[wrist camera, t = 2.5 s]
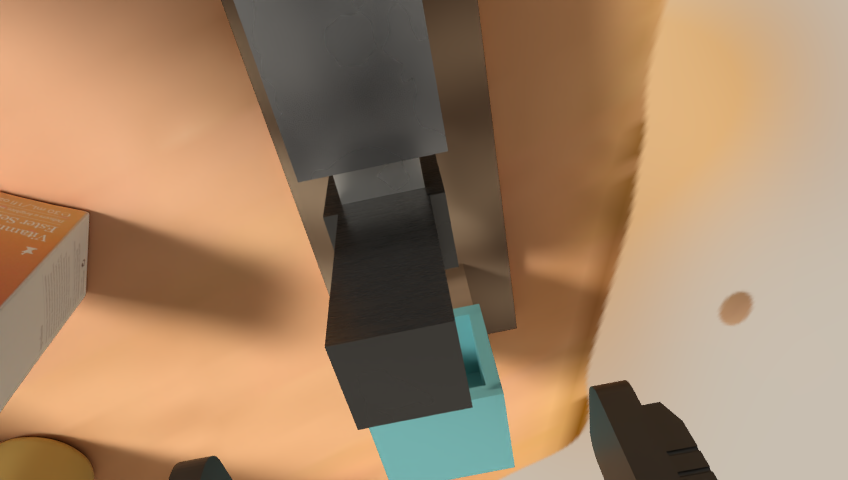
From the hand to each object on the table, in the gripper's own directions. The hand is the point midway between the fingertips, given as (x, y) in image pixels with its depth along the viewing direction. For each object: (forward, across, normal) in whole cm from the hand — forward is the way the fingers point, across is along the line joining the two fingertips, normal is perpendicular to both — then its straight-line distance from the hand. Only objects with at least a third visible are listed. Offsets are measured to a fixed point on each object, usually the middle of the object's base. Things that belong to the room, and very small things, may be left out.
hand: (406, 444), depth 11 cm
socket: (+13, 0, +10) cm, 16 cm away
